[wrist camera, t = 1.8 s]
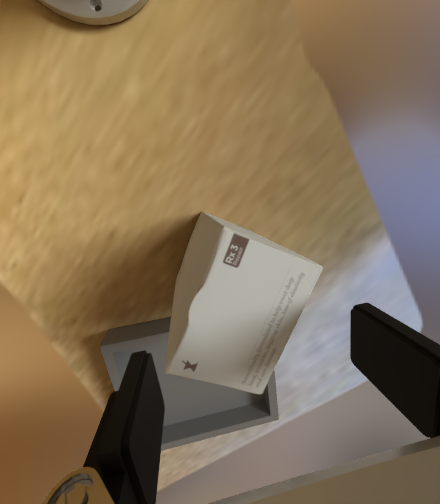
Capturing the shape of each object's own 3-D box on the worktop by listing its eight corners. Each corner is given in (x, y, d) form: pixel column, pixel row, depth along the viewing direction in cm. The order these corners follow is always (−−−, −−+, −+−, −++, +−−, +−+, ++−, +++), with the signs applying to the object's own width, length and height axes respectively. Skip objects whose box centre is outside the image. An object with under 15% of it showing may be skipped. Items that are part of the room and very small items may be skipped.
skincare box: (222, 291, 27) (264, 404, 13) (172, 276, 26) (158, 383, 11) (250, 225, 25) (334, 270, 11) (199, 205, 24) (223, 227, 10)
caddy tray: (108, 329, 26) (99, 346, 23) (260, 298, 28) (269, 310, 25) (141, 432, 30) (137, 457, 28) (270, 399, 32) (278, 419, 29)
